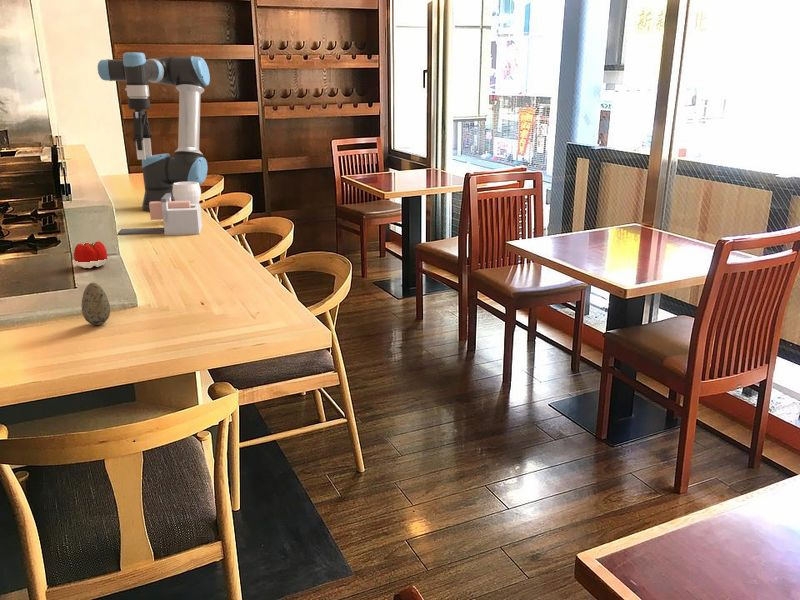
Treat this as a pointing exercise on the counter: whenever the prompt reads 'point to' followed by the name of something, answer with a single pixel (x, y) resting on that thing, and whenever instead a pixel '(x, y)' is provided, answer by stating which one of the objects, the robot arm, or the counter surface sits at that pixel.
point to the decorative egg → (95, 305)
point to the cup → (187, 192)
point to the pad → (141, 231)
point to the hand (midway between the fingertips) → (144, 157)
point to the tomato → (90, 252)
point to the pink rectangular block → (157, 208)
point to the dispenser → (181, 218)
